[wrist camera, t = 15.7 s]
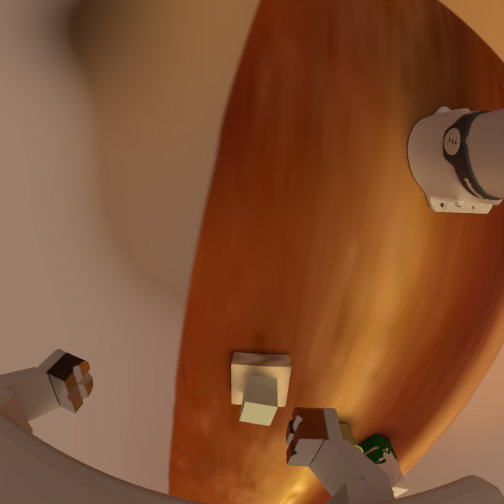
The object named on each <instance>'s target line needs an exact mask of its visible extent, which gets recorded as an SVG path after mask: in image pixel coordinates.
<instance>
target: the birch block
mask: <svg viewBox="0 0 504 504" xmlns="http://www.w3.org/2000/svg"><path fill="white" fill-rule="evenodd" d="M290 372H291V361H290V355H274V354H253V353H238V352H234V353H233V358H232V363H231V385H232V404H240V405H242V398H243V392H244V389H245V385H246V382H247V378H248V375H249V374H253V375H258V376H263V377H269V378H275V379H277V389H278V406H281V407H285V405H286V398H287V392H288V385H289V378H290Z"/></svg>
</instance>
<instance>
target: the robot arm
mask: <svg viewBox="0 0 504 504" xmlns="http://www.w3.org/2000/svg"><path fill="white" fill-rule="evenodd" d="M408 160H409V165H410V168H411V171H412V174H413V176H414V178H415V180H416V181H417V183H418V185H419V186H420V187H421V188H422V190H423V191H424V193H425V194H426V197H427V201H428V204H429V207H430V209H431V210H432V211H434V212H459V213H481V214H487V213H488V212H489V211H490V209H491V207H492V205H499V204H500V203H501V201H502V199H504V108H503V109H500V110H496V111H493V112H488V111H473V112H471V111H470V110H469V109H466V108H465V109H457V110H450V109H449V108H448V107H445V106H444V107H440V108H438V109H437V111H436V112H435V113H434V114H433V115H431V116H429V117H425V118H423V119H421V120H420V121H419V122H418V123H417V124H416V125H415V126H414V128H413V129H412V131H411V134H410V137H409V141H408ZM441 203H442V206H440V204H441ZM89 369H90V367H89V363H88V362H87V361H85V360H83V359H80V358H78V357H76V356H74V355H72V354H69V353H67V352H64V351H62V350H60V349H59V350H56V351H55V352H53V353H52V354H51V355H50V356H49V357H48V358H47V359H46V360H45V361H44V362H43V363H42V364H40V365H39V366H38V367H37V368H36V367H32V368H28V369H24V370H20V371H16V372H11V373H8V374H3V375H0V504H208V503H203V502H198V501H193V500H188V499H184V498H180V497H176V496H172V495H168V494H164V493H161V492H157V491H153V490H151V489H147V488H144V487H141V486H138V485H135V484H132V483H129V482H127V481H124V480H121V479H119V478H116V477H114V476H111V475H109V474H106V473H104V472H102V471H100V470H97V469H95V468H93V467H91V466H88V465H86V464H84V463H82V462H80V461H78V460H76V459H74V458H72V457H70V456H69V455H67V454H65V453H63V452H61V451H59V450H58V449H56V448H54V447H52V446H51V445H49V444H48V443H46V442H44V441H42V440H41V439H39V438H38V437H36V436H35V435H33V434H32V433H33V430H32V428H31V427H30V425H29V423H28V421H30V420H33V419H35V418H37V417H39V416H42V415H43V414H46V413H48V412H50V411H52V410H54V409H57V408H58V407H60V406H61V407H64V408H65V409H67V410H70V411H72V412H74V413H76V412H77V411H78V409H79V408H80V407H81V405H82V404H83V398H86V397H88V396H89V395H90V393H91V391H92V388H93V379H92V376H91V375H90V374H89V372H88V371H89ZM286 443H287V444H288V446H289V447H288V449H287V452H286V455H287V465H291V466H309V468H310V469H311V470H312V472H313V473H314V474H315V476H316V477H317V478H318V479H319V481H320V482H321V483H322V484H323V486H324V487H325V488H326V489H327V490H328V492H329V493H330V494H331V495H332V498H331V499H330V500H329V501H328V502H327V503H326V504H504V497H503V495H502V494H501V491H500V490H499V489H498V488H497V487H496V486H495V485H493V484H491V483H489V482H488V481H486V480H484V479H482V478H480V477H478V476H476V475H469V476H466V477H463V478H461V479H458V480H456V481H453V482H451V483H448V484H445V485H442V486H440V487H437V488H434V489H431V490H427V491H424V492H421V493H417V494H414V495H410V496H407V497H402V498H398V499H395V497H394V494H393V490H392V487H391V484H390V480H389V477H388V474H387V473H386V472H385V471H384V470H382V469H381V468H380V467H379V466H377V465H376V464H375V463H374V462H373V461H371V460H370V459H369V458H368V457H367V456H365V455H364V454H363V453H362V452H361V451H360V450H358V449H357V448H356V447H355V446H354V445H353V444H351V443H350V442H349V441H348V440H343V436H342V432H341V428H340V424H339V420H338V416H337V412H336V410H335V408H307V407H295V408H294V410H293V412H292V420H290V421H289V423H288V426H287V431H286Z"/></svg>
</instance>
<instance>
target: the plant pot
mask: <svg viewBox="0 0 504 504" xmlns="http://www.w3.org/2000/svg"><path fill="white" fill-rule="evenodd" d="M339 424H340V428H341V432H342V436H343V440H348V441H349V442H350V443H351V444H353V445H354V446H355V447H356V448H357V449H358V450H360V451H361V452H362V453H363V449H362V448H361V447H360V446H359V445H358V444H357V443H356V440H355V438H354V436H353V434H352V432H351V430H350V428H349V426H348V425H347V424H345V423H344V424H342V423H339Z"/></svg>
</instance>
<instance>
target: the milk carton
mask: <svg viewBox="0 0 504 504" xmlns="http://www.w3.org/2000/svg"><path fill="white" fill-rule="evenodd" d="M359 446H360V447H361V448H362V449H363V454H364V455H365V456H367V457H368V458H369V459H370V460H371V461H373V462H374V463H375V464H376V465H377V466H379V467H380V468H381V469H382V470H384V471H385V472H386V473H387V474H388V477H389V480H390V484H391V487H392V490H393V494H394V497H397V496H399V495H400V494H402V493H404V492H406V491H408V487H407V485H406V483H405V480H404V478H403V475H402V472H401V469H400V466H399V463H398V461H397V458H396V455H395V452H394V450H393V447H392V445H391V442H390V440H388V439H386V438H384V437H382V436H381V435H379V434H375V435H374V436H372V437H371V438H369V439H368V440H366V441H364V442H363V443H361V444H360V445H359Z"/></svg>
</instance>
